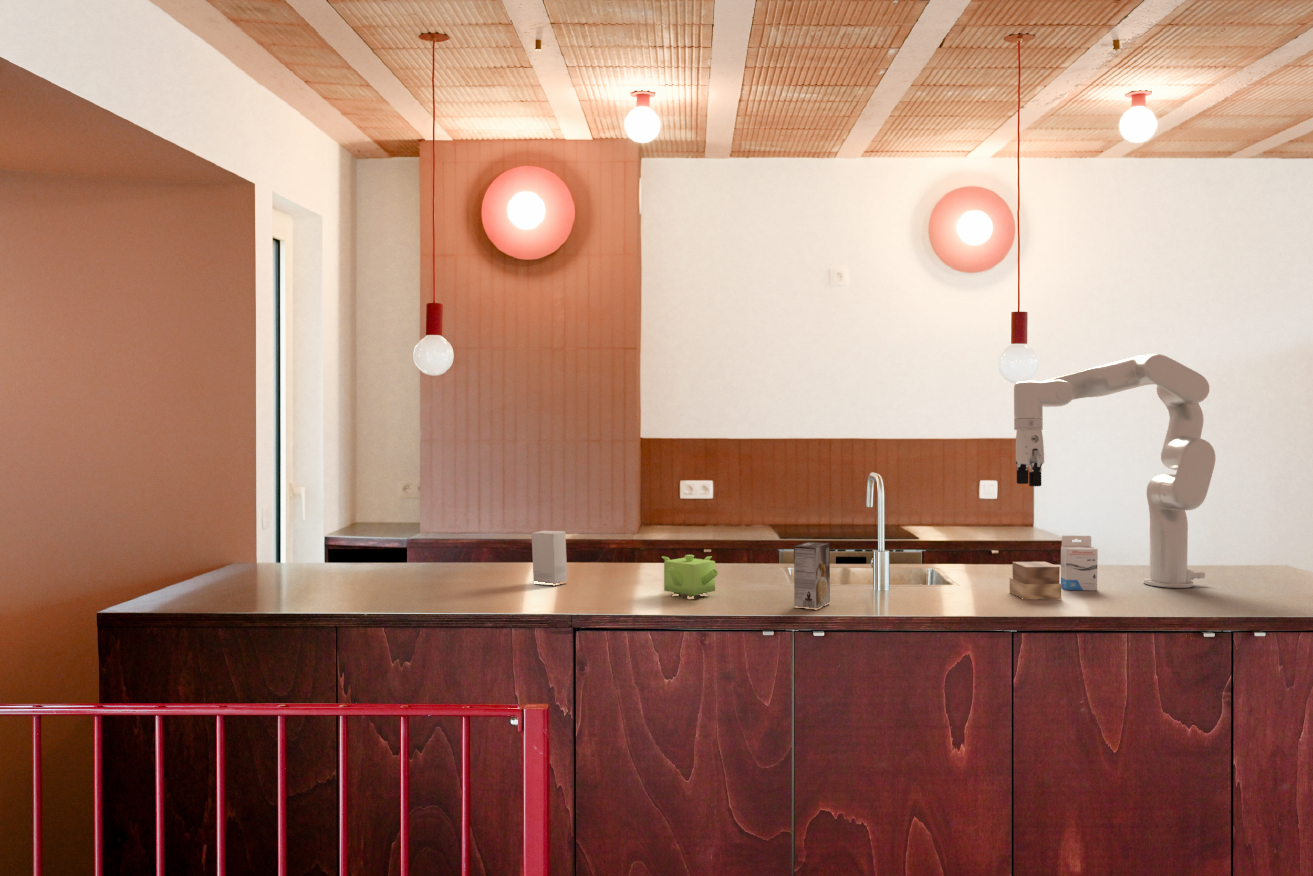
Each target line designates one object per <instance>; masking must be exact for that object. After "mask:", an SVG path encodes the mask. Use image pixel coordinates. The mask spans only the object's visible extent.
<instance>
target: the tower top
mask: <svg viewBox="0 0 1313 876" xmlns="http://www.w3.org/2000/svg"><path fill="white" fill-rule="evenodd" d="M1012 578H1013V579H1015V580H1017V581H1020V582H1022V583H1024V584H1061V566H1058V565H1056V564H1053V563H1050V562H1047V561H1012Z"/></svg>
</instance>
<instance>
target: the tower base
mask: <svg viewBox="0 0 1313 876" xmlns="http://www.w3.org/2000/svg"><path fill="white" fill-rule="evenodd" d="M1010 592H1011V593H1013V594H1014V595H1013V594H1012V595H1013V596H1015V595H1016V596H1015V597H1017V596H1019V597H1021V598H1023V599H1061V600H1062V587H1061V583H1060V584H1024V583H1022V582H1020V581H1017V580H1015V579H1013V577H1009V593H1010ZM1011 593H1010V594H1011ZM1019 597H1018V598H1019ZM1021 598H1020V599H1021ZM1023 599H1022V600H1023Z"/></svg>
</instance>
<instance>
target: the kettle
mask: <svg viewBox="0 0 1313 876" xmlns="http://www.w3.org/2000/svg"><path fill="white" fill-rule="evenodd" d="M694 557H695V555H693V554H685V555H684V557H680V558H673V559H670V557H668V556H664V555H663V556H661V558H662V559H663V560H664V562H663V575H664V576H663V577H664V578H663V579H664V580H663V582H664V586H663V587H664V589H663V590H664V592H669V593H674V594H680V595H686V597H687V596H689V597H692V596H697V595H699V594H703V593H706V594H708V593H711V592H716V577H717V576H718V575H719V572H718V570H717V569H716V561H715V560H711V559H712V557H713V556H712V555H711V556H706V557H705V558H704V559H702V558H696V557H695V558H694Z"/></svg>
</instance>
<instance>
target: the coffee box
mask: <svg viewBox="0 0 1313 876" xmlns="http://www.w3.org/2000/svg"><path fill="white" fill-rule="evenodd" d="M830 549H831V547H830V542H815V541H814V542H813V541H807V542H804V543H800V544H797V545H794V546H793V590H794V591H793V595H794V597H793V598H794V600H793V601H794V602H793V603H794V604H793V605H794V606H798V607H809V608H819V607H821V606H824V605H825V604H827V603H829V602H830V603H831V581H830V580H831V576H830V575H831V567H830V566H831V565H830V562H831V561H830V559H831V558H830V556H831V555H830V551H831V550H830Z"/></svg>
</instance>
